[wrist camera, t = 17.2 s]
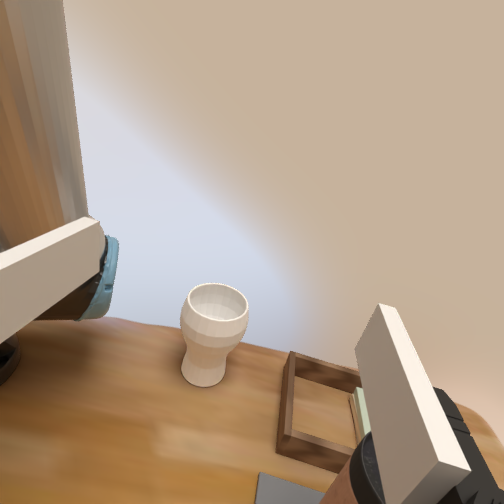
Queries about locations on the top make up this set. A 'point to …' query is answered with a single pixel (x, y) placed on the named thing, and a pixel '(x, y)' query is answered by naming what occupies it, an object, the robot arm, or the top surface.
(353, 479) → the travel mug
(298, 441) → the brown wooden tray
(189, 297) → the cup
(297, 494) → the charcoal mat
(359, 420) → the top offcut
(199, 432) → the top surface
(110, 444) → the top surface
